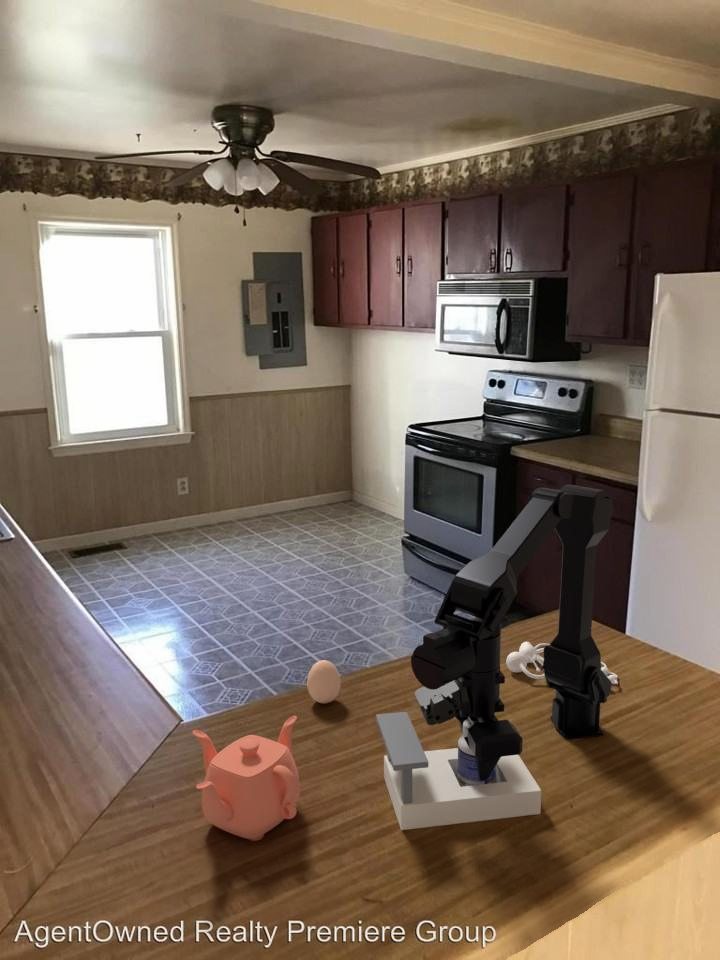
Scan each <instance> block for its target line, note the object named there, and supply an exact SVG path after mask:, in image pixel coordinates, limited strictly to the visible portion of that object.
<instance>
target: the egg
mask: <svg viewBox="0 0 720 960" xmlns="http://www.w3.org/2000/svg"><path fill="white" fill-rule="evenodd" d="M341 682H342V681H341V676H340V673H339V671H338V669H337V667H336V666H335V665H334V663H332V662H331V661H329V660H327V659H323V660H319V661H316V663H314V664H313V665H312V667H311V668H310V670H309V673H308V675H307V683H306V684H307V685H306V686H307V691H308V694H309V696H310V697H311V698H312V699H313V700H314V701H315V702H317V703H319V704H328V703H331V702H332V701H334V700H335V699H336V698H337V697H338V695H339V692H340V691H341V686H342V685H341V684H342V683H341Z"/></svg>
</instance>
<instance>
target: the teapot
mask: <svg viewBox="0 0 720 960" xmlns="http://www.w3.org/2000/svg"><path fill="white" fill-rule="evenodd" d="M297 719H298V717H297V715H292V716H290V717H289V718H288V719H287V720H285V722H284V723H283V725H282V727H281V731H280V732H279V736H278V740H277V741H275V740H273V739H269V738H267V737H263V736H260V735H257V734H249V735H244V736H243V737H240V738H238V739H236V740H235V741H234V742H231V743H230V744H228V745H227V746H226V747H224V748H223V749H222V750H220V751H219V752H217V750H216V747H215V746H214V744H213V742H212V740H211V737H209V736H208V734H206V733H205V732H203V731H201V730H198V729H195V730H192V735H194V737H195V738H196V739H197V740H198V741H199V744H200V747H201V749H202V757H203V765H204V766H203V767H204V770H205V771H204V772H205V774H206V775H205V779H204V781H203V782H202V781H201V782H199V783H198V784H196V786H195V788H196V789H198V790H202V797H201V810H202V814H203V815H204V817H205V818H206V820H207V822H209V823H210V825H213V826H215V827H217V828H218V829H220V830H223V831H225V832H227V833H229V834H232V835H233V836H234V835H235V836H238V837H240V838H244V839H247V840H250V841H251V842H256V841H257V842H258V841H260V840H262V839H263V838H264V837H265V834H266V833H268V832H269V831H271V830H273V829H274V828H276V827H277V826H278V825H279V824H281V822H283V821H284V820H285V819H286V820H291V819H293V818H295V817H296V815H297V808H296V805H297V802H298V800H299V798H300V795H301V783H300V776H299V771H298V768H297V765H296V761H295V760H294V757H293V746H292V745H293V744H292V731H293V728H294V725H295V723H296V721H297Z"/></svg>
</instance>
